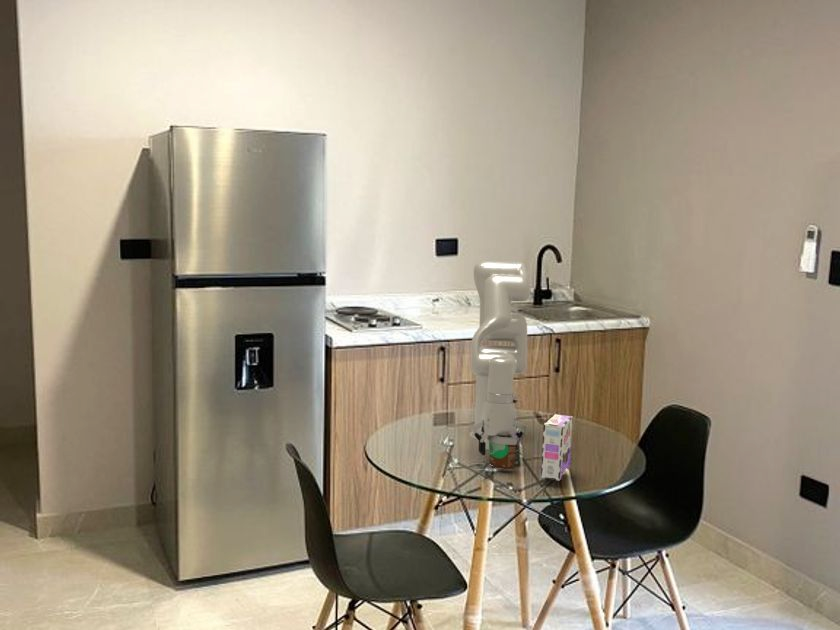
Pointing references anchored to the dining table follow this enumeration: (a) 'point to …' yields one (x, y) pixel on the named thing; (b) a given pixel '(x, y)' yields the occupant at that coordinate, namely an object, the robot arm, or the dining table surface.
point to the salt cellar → (487, 444)
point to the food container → (502, 451)
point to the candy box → (556, 446)
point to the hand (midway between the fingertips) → (497, 453)
